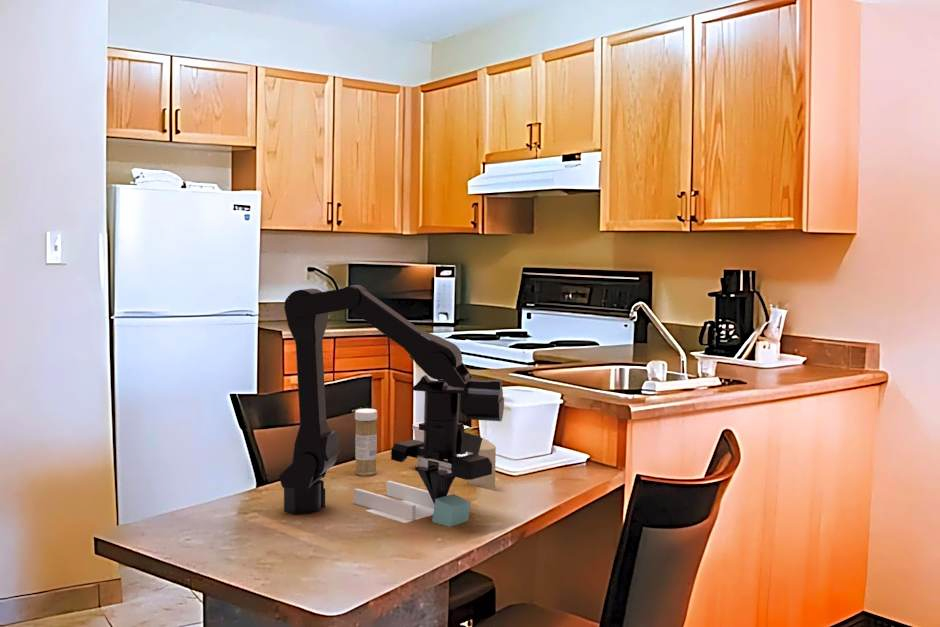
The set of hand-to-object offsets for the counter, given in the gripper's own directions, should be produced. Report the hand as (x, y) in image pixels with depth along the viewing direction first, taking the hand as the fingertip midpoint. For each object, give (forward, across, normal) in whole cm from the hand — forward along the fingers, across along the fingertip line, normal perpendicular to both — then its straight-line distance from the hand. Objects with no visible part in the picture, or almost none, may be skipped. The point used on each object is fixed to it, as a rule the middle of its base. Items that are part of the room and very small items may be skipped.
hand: (439, 508), depth 155 cm
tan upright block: (+4, +11, -23) cm, 26 cm away
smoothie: (+4, +30, -27) cm, 41 cm away
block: (0, -1, 0) cm, 1 cm away
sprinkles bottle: (+4, +36, -15) cm, 39 cm away
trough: (+3, +10, 0) cm, 10 cm away
